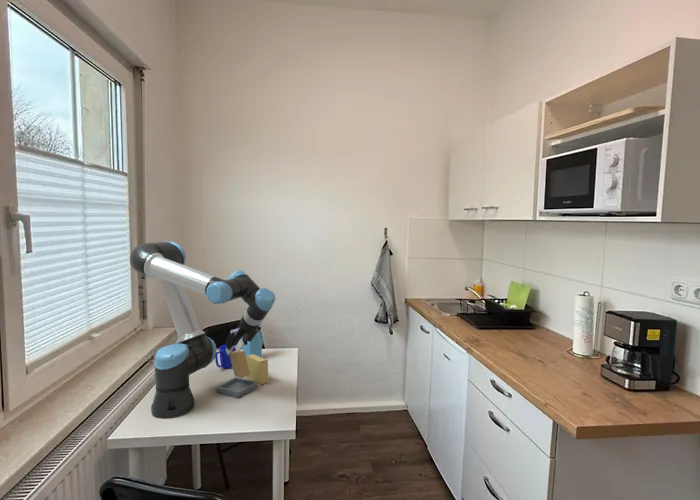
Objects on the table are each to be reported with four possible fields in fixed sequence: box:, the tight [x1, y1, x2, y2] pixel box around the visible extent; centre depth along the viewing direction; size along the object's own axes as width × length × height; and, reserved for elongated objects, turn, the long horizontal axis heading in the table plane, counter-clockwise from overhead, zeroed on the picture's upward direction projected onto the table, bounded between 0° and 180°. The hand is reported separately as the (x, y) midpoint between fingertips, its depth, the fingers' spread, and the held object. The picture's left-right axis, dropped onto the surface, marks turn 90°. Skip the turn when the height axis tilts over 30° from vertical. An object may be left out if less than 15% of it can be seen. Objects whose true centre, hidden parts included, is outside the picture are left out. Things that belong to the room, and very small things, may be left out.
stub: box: [230, 350, 250, 379], centre depth 173 cm, size 7×4×10 cm, turn 42°
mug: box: [214, 344, 237, 369], centre depth 200 cm, size 8×12×10 cm
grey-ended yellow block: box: [246, 354, 269, 386], centre depth 184 cm, size 12×4×10 cm, turn 44°
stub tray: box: [215, 376, 259, 399], centre depth 174 cm, size 12×12×2 cm
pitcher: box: [241, 323, 264, 359], centre depth 211 cm, size 8×8×20 cm
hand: (232, 351), depth 176 cm, fingers closed on stub, 4 cm apart
